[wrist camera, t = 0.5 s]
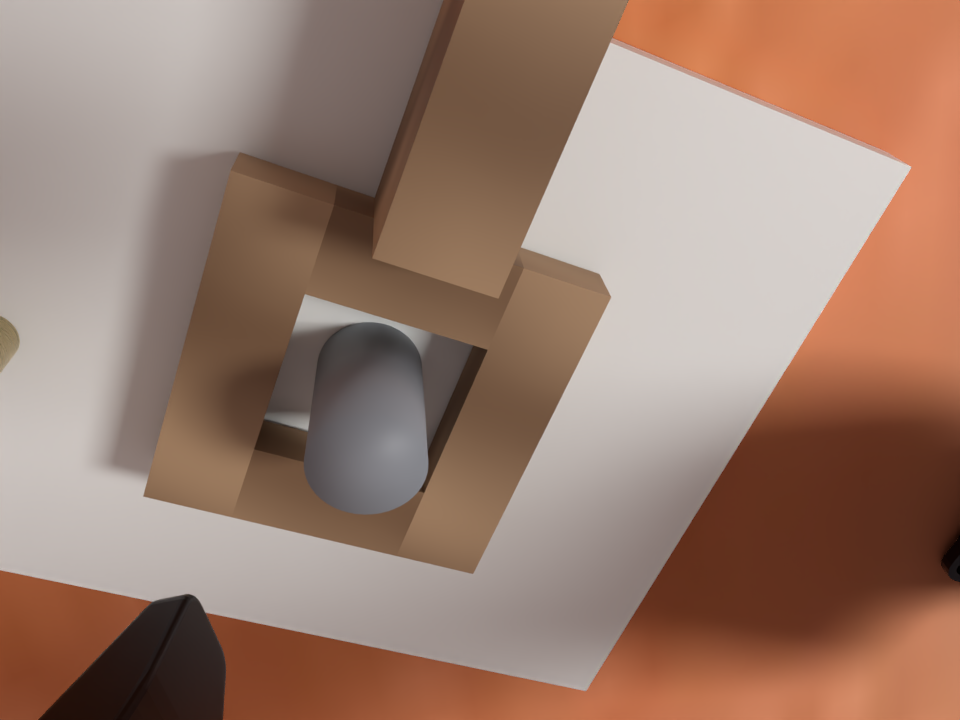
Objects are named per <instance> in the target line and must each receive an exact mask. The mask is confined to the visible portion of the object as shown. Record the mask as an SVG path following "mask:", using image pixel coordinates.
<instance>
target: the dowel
mask: <svg viewBox="0 0 960 720" xmlns="http://www.w3.org/2000/svg"><path fill="white" fill-rule="evenodd" d="M19 345H20V338H19V334H18V332H17V330H16V328H15V327H14V326H13V325H12V324H11V323H10V322H9V321H8V320H7V319H5V318H4V317H2V316H0V373H1V372H2V371H3V369H4V368H5V367H6V365H7V364H8V363H9V361H10V360H11V359H12V357H13V356H14V355H15V353H16V352H17V350H18V348H19Z"/></svg>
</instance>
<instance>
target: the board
mask: <svg viewBox="0 0 960 720" xmlns="http://www.w3.org/2000/svg"><path fill="white" fill-rule="evenodd" d="M442 3H443V0H0V316H2V317H4V318H5V319H7V320H8V321H9V322H10V323H11V324H12V325H13V326H14V327H15V328H16V330H17V332H18V334H19V338H20V345H19V348H18V350H17V352H16V353H15V355H14V356H13V357H12V359H11V360H10V361H9V363H8V364H7V365H6V367H5V368H4V369H3V371H2V372H1V373H0V570H2V571H7V572H12V573H17V574H22V575H26V576H31V577H36V578H41V579H46V580H51V581H55V582H60V583H65V584H70V585H75V586H80V587H85V588H89V589H94V590H99V591H104V592H109V593H114V594H118V595H123V596H128V597H133V598H138V599H143V600H147V601H152V602H154V601H156V600H159V599H163V598H168V597H173V596H179V595H184V594H191V595H194V596H195V597H196V598H197V599H198V600H199V601H200V603H201V604H202V607H203V609H204V611H205V612H206V613H210V614H215V615H220V616H225V617H230V618H235V619H239V620H244V621H249V622H254V623H259V624H264V625H269V626H273V627H278V628H283V629H288V630H293V631H298V632H302V633H307V634H312V635H317V636H322V637H327V638H331V639H336V640H341V641H346V642H351V643H356V644H361V645H365V646H370V647H375V648H380V649H385V650H390V651H394V652H399V653H404V654H409V655H414V656H419V657H423V658H428V659H433V660H438V661H443V662H448V663H453V664H457V665H462V666H467V667H472V668H477V669H482V670H486V671H491V672H496V673H501V674H506V675H511V676H516V677H520V678H525V679H530V680H535V681H540V682H545V683H549V684H554V685H559V686H564V687H569V688H574V689H578V690H583V691H586V690H587V689H588V687H589V685H590V684H591V682H592V681H593V679H594V677H595V676H596V674H597V673H598V671H599V669H600V668H601V666H602V665H603V663H604V661H605V660H606V658H607V656H608V655H609V653H610V652H611V650H612V648H613V647H614V645H615V644H616V642H617V640H618V639H619V637H620V636H621V634H622V632H623V631H624V629H625V627H626V626H627V624H628V623H629V621H630V619H631V618H632V616H633V615H634V613H635V611H636V610H637V608H638V607H639V605H640V603H641V602H642V600H643V599H644V597H645V595H646V594H647V592H648V590H649V589H650V587H651V586H652V584H653V582H654V581H655V579H656V578H657V576H658V574H659V573H660V571H661V570H662V568H663V566H664V565H665V563H666V562H667V560H668V558H669V557H670V555H671V553H672V552H673V550H674V549H675V547H676V545H677V544H678V542H679V541H680V539H681V537H682V536H683V534H684V533H685V531H686V529H687V528H688V526H689V524H690V523H691V521H692V520H693V518H694V516H695V515H696V513H697V512H698V510H699V508H700V507H701V505H702V504H703V502H704V500H705V499H706V497H707V496H708V494H709V492H710V491H711V489H712V487H713V486H714V484H715V483H716V481H717V479H718V478H719V476H720V475H721V473H722V471H723V470H724V468H725V467H726V465H727V463H728V462H729V460H730V459H731V457H732V455H733V454H734V452H735V450H736V449H737V447H738V446H739V444H740V442H741V441H742V439H743V438H744V436H745V434H746V433H747V431H748V430H749V428H750V426H751V425H752V423H753V421H754V420H755V418H756V417H757V415H758V413H759V412H760V410H761V409H762V407H763V405H764V404H765V402H766V401H767V399H768V397H769V396H770V394H771V393H772V391H773V389H774V388H775V386H776V384H777V383H778V381H779V380H780V378H781V376H782V375H783V373H784V372H785V370H786V368H787V367H788V365H789V364H790V362H791V360H792V359H793V357H794V356H795V354H796V352H797V351H798V349H799V347H800V346H801V344H802V343H803V341H804V339H805V338H806V336H807V335H808V333H809V331H810V330H811V328H812V327H813V325H814V323H815V322H816V320H817V318H818V317H819V315H820V314H821V312H822V310H823V309H824V307H825V306H826V304H827V302H828V301H829V299H830V298H831V296H832V294H833V293H834V291H835V290H836V288H837V286H838V285H839V283H840V281H841V280H842V278H843V277H844V275H845V273H846V272H847V270H848V269H849V267H850V265H851V264H852V262H853V261H854V259H855V257H856V256H857V254H858V253H859V251H860V249H861V248H862V246H863V244H864V243H865V241H866V240H867V238H868V236H869V235H870V233H871V232H872V230H873V228H874V227H875V225H876V224H877V222H878V220H879V219H880V217H881V215H882V214H883V212H884V211H885V209H886V207H887V206H888V204H889V203H890V201H891V199H892V198H893V196H894V195H895V193H896V191H897V190H898V188H899V187H900V185H901V183H902V182H903V180H904V178H905V177H906V175H907V174H908V172H909V170H910V169H911V166H909V165H907V164H906V163H904V162H902V161H901V160H899V159H897V158H896V157H894V156H892V155H891V154H889V153H887V152H886V151H884V150H881V149H879V148H876V147H874V146H871V145H869V144H867V143H864V142H862V141H859V140H857V139H855V138H852V137H850V136H847V135H845V134H843V133H840V132H838V131H835V130H833V129H830V128H828V127H826V126H823V125H821V124H818V123H816V122H814V121H811V120H809V119H806V118H804V117H802V116H799V115H797V114H794V113H792V112H790V111H787V110H785V109H782V108H780V107H777V106H775V105H773V104H770V103H768V102H765V101H763V100H761V99H758V98H756V97H753V96H751V95H749V94H746V93H744V92H741V91H739V90H736V89H734V88H732V87H729V86H727V85H724V84H722V83H720V82H717V81H715V80H712V79H710V78H708V77H705V76H703V75H700V74H698V73H696V72H693V71H691V70H688V69H686V68H683V67H681V66H679V65H676V64H674V63H671V62H669V61H667V60H664V59H662V58H659V57H657V56H655V55H652V54H650V53H647V52H645V51H643V50H640V49H638V48H635V47H633V46H630V45H628V44H626V43H623V42H621V41H618V40H616V39H614V38H612V40H611V42H610V44H609V47H608V49H607V51H606V53H605V56H604V58H603V60H602V63H601V65H600V67H599V69H598V72H597V74H596V76H595V79H594V81H593V83H592V85H591V88H590V90H589V92H588V95H587V97H586V99H585V101H584V104H583V106H582V108H581V111H580V113H579V115H578V118H577V120H576V122H575V124H574V127H573V129H572V131H571V134H570V136H569V138H568V140H567V143H566V145H565V147H564V150H563V152H562V154H561V156H560V159H559V161H558V163H557V166H556V168H555V170H554V172H553V175H552V177H551V179H550V182H549V184H548V186H547V189H546V191H545V193H544V195H543V198H542V200H541V202H540V205H539V207H538V209H537V211H536V214H535V216H534V218H533V221H532V223H531V225H530V227H529V230H528V232H527V234H526V237H525V239H524V241H523V244H522V246H521V248H524V249H527V250H530V251H533V252H536V253H539V254H542V255H545V256H548V257H551V258H554V259H557V260H560V261H563V262H566V263H569V264H572V265H574V266H577V267H580V268H583V269H586V270H589V271H592V272H595V273H598V274H600V276H601V278H602V280H603V282H604V284H605V286H606V288H607V290H608V292H609V294H610V296H611V299H610V301H609V303H608V305H607V307H606V309H605V311H604V313H603V315H602V317H601V319H600V321H599V323H598V325H597V327H596V329H595V331H594V333H593V335H592V337H591V339H590V341H589V343H588V345H587V347H586V349H585V351H584V353H583V355H582V357H581V359H580V361H579V363H578V365H577V367H576V369H575V371H574V373H573V375H572V377H571V379H570V381H569V383H568V385H567V387H566V389H565V391H564V393H563V395H562V397H561V399H560V401H559V403H558V405H557V407H556V409H555V411H554V413H553V415H552V417H551V419H550V421H549V423H548V425H547V427H546V429H545V431H544V433H543V435H542V437H541V439H540V441H539V443H538V445H537V447H536V449H535V451H534V453H533V455H532V457H531V459H530V461H529V463H528V465H527V467H526V469H525V471H524V473H523V475H522V477H521V479H520V481H519V483H518V485H517V487H516V489H515V491H514V493H513V495H512V497H511V499H510V501H509V503H508V505H507V507H506V509H505V511H504V513H503V515H502V517H501V519H500V521H499V523H498V525H497V527H496V529H495V531H494V533H493V535H492V537H491V539H490V541H489V543H488V545H487V547H486V549H485V551H484V553H483V555H482V557H481V559H480V561H479V563H478V565H477V567H476V569H475V571H474V573H473V574H471V573H466V572H462V571H458V570H454V569H449V568H445V567H441V566H437V565H432V564H428V563H424V562H419V561H415V560H411V559H407V558H402V557H398V556H394V555H390V554H385V553H381V552H377V551H373V550H368V549H364V548H360V547H356V546H351V545H347V544H343V543H339V542H334V541H330V540H326V539H322V538H317V537H313V536H309V535H305V534H300V533H296V532H292V531H288V530H283V529H279V528H275V527H270V526H266V525H262V524H258V523H253V522H249V521H245V520H241V519H236V518H232V517H228V516H224V515H219V514H215V513H211V512H207V511H202V510H198V509H194V508H190V507H185V506H181V505H177V504H173V503H168V502H164V501H160V500H156V499H151V498H147V497H143V495H144V491H145V487H146V484H147V480H148V476H149V473H150V469H151V465H152V461H153V458H154V454H155V450H156V446H157V443H158V439H159V435H160V432H161V428H162V424H163V420H164V417H165V413H166V409H167V405H168V402H169V398H170V394H171V390H172V387H173V383H174V379H175V376H176V372H177V368H178V364H179V361H180V357H181V353H182V349H183V346H184V342H185V338H186V335H187V331H188V327H189V323H190V320H191V316H192V312H193V308H194V305H195V301H196V297H197V293H198V290H199V286H200V282H201V279H202V275H203V271H204V267H205V264H206V260H207V256H208V252H209V249H210V245H211V241H212V238H213V234H214V230H215V226H216V223H217V219H218V215H219V211H220V208H221V204H222V200H223V196H224V193H225V189H226V185H227V182H228V178H229V174H230V170H231V168H232V166H233V164H234V162H235V160H236V158H237V156H238V154H239V152H241V153H244V154H247V155H250V156H253V157H256V158H259V159H262V160H265V161H268V162H271V163H273V164H276V165H279V166H282V167H285V168H288V169H291V170H294V171H297V172H300V173H303V174H306V175H309V176H312V177H315V178H318V179H321V180H324V181H327V182H330V183H332V184H335V185H338V186H341V187H344V188H347V189H350V190H353V191H356V192H359V193H362V194H365V195H368V196H371V197H374V198H375V195H376V192H377V189H378V186H379V184H380V181H381V178H382V175H383V172H384V169H385V166H386V163H387V161H388V158H389V155H390V152H391V149H392V146H393V143H394V140H395V138H396V135H397V132H398V129H399V126H400V123H401V120H402V117H403V115H404V112H405V109H406V106H407V103H408V100H409V97H410V94H411V92H412V89H413V86H414V83H415V80H416V77H417V74H418V72H419V69H420V66H421V63H422V60H423V57H424V54H425V51H426V49H427V46H428V43H429V40H430V37H431V34H432V31H433V28H434V26H435V23H436V20H437V17H438V14H439V11H440V8H441V5H442ZM472 348H473V345H470V344H467V343H464V342H460V341H457V340H454V339H451V338H447V337H444V336H441V335H437V334H434V333H431V332H428V331H424V330H421V329H418V328H414V327H411V326H408V325H405V324H401V323H398V322H395V321H391V320H388V319H385V318H382V317H378V316H375V315H372V314H368V313H365V312H362V311H359V310H355V309H352V308H349V307H345V306H342V305H339V304H336V303H332V302H329V301H326V300H322V299H319V298H316V297H313V296H309V295H306V294H305V295H304V298H303V301H302V304H301V307H300V310H299V313H298V316H297V319H296V323H295V326H294V329H293V332H292V335H291V338H290V341H289V344H288V347H287V350H286V353H285V356H284V359H283V362H282V365H281V368H280V371H279V374H278V377H277V381H276V384H275V387H274V390H273V393H272V396H271V399H270V402H269V405H268V408H267V411H266V414H265V417H264V421H267V422H271V423H275V424H279V425H282V426H286V427H290V428H294V429H298V430H301V431H305V432H308V434H307V441H306V449H305V456H304V472H305V476H306V479H307V481H308V484H309V485H310V487H311V489H312V490H313V491H314V493H315V494H316V495H317V496H318V497H319V498H320V499H321V500H323V501H324V502H326V503H327V504H329V505H330V506H332V507H334V508H336V509H339V510H341V511H345V512H348V513H353V514H363V515H367V514H379V513H383V512H387V511H390V510H393V509H395V508H398V507H400V506H402V505H403V504H405V503H406V502H408V501H409V500H410V499H411V498H413V497H414V496H415V495H416V494H417V493H418V491H419V490H420V488H421V487H422V485H423V483H424V482H425V479H426V476H427V472H428V449H429V447H430V444H431V442H432V440H433V438H434V435H435V433H436V431H437V428H438V426H439V424H440V421H441V419H442V417H443V415H444V412H445V410H446V408H447V405H448V403H449V401H450V398H451V396H452V394H453V391H454V389H455V387H456V385H457V382H458V380H459V378H460V375H461V373H462V371H463V368H464V366H465V364H466V362H467V359H468V357H469V355H470V352H471V350H472Z"/></svg>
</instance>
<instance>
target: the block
mask: <svg viewBox="0 0 960 720" xmlns="http://www.w3.org/2000/svg"><path fill="white" fill-rule="evenodd" d="M628 1H629V0H443V3H442V5H441V8H440V11H439V14H438V17H437V20H436V23H435V26H434V28H433V31H432V34H431V37H430V40H429V43H428V46H427V49H426V51H425V54H424V57H423V60H422V63H421V66H420V69H419V72H418V74H417V77H416V80H415V83H414V86H413V89H412V92H411V94H410V97H409V100H408V103H407V106H406V109H405V112H404V115H403V117H402V120H401V123H400V126H399V129H398V132H397V135H396V138H395V140H394V143H393V146H392V149H391V152H390V155H389V158H388V161H387V163H386V166H385V169H384V172H383V175H382V178H381V181H380V184H379V186H378V189H377V192H376V195H375V198H374V197H371V196H368V195H365V194H362V193H359V192H356V191H353V190H350V189H347V188H344V187H341V186H338V185H335V184H332V183H330V182H327V181H324V180H321V179H318V178H315V177H312V176H309V175H306V174H303V173H300V172H297V171H294V170H291V169H288V168H285V167H282V166H279V165H276V164H273V163H271V162H268V161H265V160H262V159H259V158H256V157H253V156H250V155H247V154H244V153H241V152H239V154H238V156H237V158H236V160H235V162H234V164H233V166H232V168H231V170H230V174H229V178H228V182H227V185H226V189H225V193H224V196H223V200H222V204H221V208H220V211H219V215H218V219H217V223H216V226H215V230H214V234H213V238H212V241H211V245H210V249H209V252H208V256H207V260H206V264H205V267H204V271H203V275H202V279H201V282H200V286H199V290H198V293H197V297H196V301H195V305H194V308H193V312H192V316H191V320H190V323H189V327H188V331H187V335H186V338H185V342H184V346H183V349H182V353H181V357H180V361H179V364H178V368H177V372H176V376H175V379H174V383H173V387H172V390H171V394H170V398H169V402H168V405H167V409H166V413H165V417H164V420H163V424H162V428H161V432H160V435H159V439H158V443H157V446H156V450H155V454H154V458H153V461H152V465H151V469H150V473H149V476H148V480H147V484H146V487H145V491H144V495H143V497H147V498H151V499H156V500H160V501H164V502H168V503H173V504H177V505H181V506H185V507H190V508H194V509H198V510H202V511H207V512H211V513H215V514H219V515H224V516H228V517H232V518H236V519H241V520H245V521H249V522H253V523H258V524H262V525H266V526H270V527H275V528H279V529H283V530H288V531H292V532H296V533H300V534H305V535H309V536H313V537H317V538H322V539H326V540H330V541H334V542H339V543H343V544H347V545H351V546H356V547H360V548H364V549H368V550H373V551H377V552H381V553H385V554H390V555H394V556H398V557H402V558H407V559H411V560H415V561H419V562H424V563H428V564H432V565H437V566H441V567H445V568H449V569H454V570H458V571H462V572H466V573H471V574H473V573H474V571H475V569H476V567H477V565H478V563H479V561H480V559H481V557H482V555H483V553H484V551H485V549H486V547H487V545H488V543H489V541H490V539H491V537H492V535H493V533H494V531H495V529H496V527H497V525H498V523H499V521H500V519H501V517H502V515H503V513H504V511H505V509H506V507H507V505H508V503H509V501H510V499H511V497H512V495H513V493H514V491H515V489H516V487H517V485H518V483H519V481H520V479H521V477H522V475H523V473H524V471H525V469H526V467H527V465H528V463H529V461H530V459H531V457H532V455H533V453H534V451H535V449H536V447H537V445H538V443H539V441H540V439H541V437H542V435H543V433H544V431H545V429H546V427H547V425H548V423H549V421H550V419H551V417H552V415H553V413H554V411H555V409H556V407H557V405H558V403H559V401H560V399H561V397H562V395H563V393H564V391H565V389H566V387H567V385H568V383H569V381H570V379H571V377H572V375H573V373H574V371H575V369H576V367H577V365H578V363H579V361H580V359H581V357H582V355H583V353H584V351H585V349H586V347H587V345H588V343H589V341H590V339H591V337H592V335H593V333H594V331H595V329H596V327H597V325H598V323H599V321H600V319H601V317H602V315H603V313H604V311H605V309H606V307H607V305H608V303H609V301H610V299H611V296H610V294H609V292H608V290H607V288H606V286H605V284H604V282H603V280H602V278H601V276H600V274H598V273H595V272H592V271H589V270H586V269H583V268H580V267H577V266H574V265H572V264H569V263H566V262H563V261H560V260H557V259H554V258H551V257H548V256H545V255H542V254H539V253H536V252H533V251H530V250H527V249H524V248H521V246H522V244H523V241H524V239H525V237H526V234H527V232H528V230H529V227H530V225H531V223H532V221H533V218H534V216H535V214H536V211H537V209H538V207H539V205H540V202H541V200H542V198H543V195H544V193H545V191H546V189H547V186H548V184H549V182H550V179H551V177H552V175H553V172H554V170H555V168H556V166H557V163H558V161H559V159H560V156H561V154H562V152H563V150H564V147H565V145H566V143H567V140H568V138H569V136H570V134H571V131H572V129H573V127H574V124H575V122H576V120H577V118H578V115H579V113H580V111H581V108H582V106H583V104H584V101H585V99H586V97H587V95H588V92H589V90H590V88H591V85H592V83H593V81H594V79H595V76H596V74H597V72H598V69H599V67H600V65H601V63H602V60H603V58H604V56H605V53H606V51H607V49H608V47H609V44H610V42H611V40H612V37H613V35H614V33H615V30H616V28H617V26H618V24H619V21H620V19H621V17H622V14H623V12H624V10H625V8H626V5H627V3H628ZM305 294H306V295H309V296H313V297H316V298H319V299H322V300H326V301H329V302H332V303H336V304H339V305H342V306H345V307H349V308H352V309H355V310H359V311H362V312H365V313H368V314H372V315H375V316H378V317H382V318H385V319H388V320H391V321H395V322H398V323H401V324H405V325H408V326H411V327H414V328H418V329H421V330H424V331H428V332H431V333H434V334H437V335H441V336H444V337H447V338H451V339H454V340H457V341H460V342H464V343H467V344H470V345H473V348H472V350H471V352H470V355H469V357H468V359H467V362H466V364H465V366H464V368H463V371H462V373H461V375H460V378H459V380H458V382H457V385H456V387H455V389H454V391H453V394H452V396H451V398H450V401H449V403H448V405H447V408H446V410H445V412H444V415H443V417H442V419H441V421H440V424H439V426H438V428H437V431H436V433H435V435H434V438H433V440H432V442H431V444H430V447H429V449H428V472H427V476H426V479H425V482H424V483H423V485H422V487H421V488H420V490H419V491H418V493H417V494H416V495H415V496H414V497H413V498H411V499H410V500H409V501H408V502H406V503H405V504H403V505H402V506H400V507H398V508H395V509H393V510H390V511H387V512H383V513H379V514H367V515H363V514H353V513H348V512H345V511H341V510H339V509H336V508H334V507H332V506H330V505H329V504H327V503H326V502H324V501H323V500H321V499H320V498H319V497H318V496H317V495H316V494H315V493H314V491H313V490H312V489H311V487H310V485H309V484H308V481H307V479H306V476H305V472H304V456H305V449H306V441H307V434H308V432H305V431H301V430H298V429H294V428H290V427H286V426H282V425H279V424H275V423H271V422H267V421H264V417H265V414H266V411H267V408H268V405H269V402H270V399H271V396H272V393H273V390H274V387H275V384H276V381H277V377H278V374H279V371H280V368H281V365H282V362H283V359H284V356H285V353H286V350H287V347H288V344H289V341H290V338H291V335H292V332H293V329H294V326H295V323H296V319H297V316H298V313H299V310H300V307H301V304H302V301H303V298H304V295H305Z"/></svg>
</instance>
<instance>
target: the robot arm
mask: <svg viewBox="0 0 960 720" xmlns="http://www.w3.org/2000/svg"><path fill="white" fill-rule="evenodd" d="M941 566H942V567H943V569H944V570H945V572H946V573H947V574H948V576H949V577H950V578H951V579H953V580H955V581H958V582H960V536H959V538H958V539H957V540H956V541H955V543H954V544H953V545H952V546H951V548H950V549H949V550H948V551H947V553H946V554H945V555H944V557H943V559H942V560H941ZM225 679H226V664H225V657H224V653H223V650H222V647H221V645H220V643H219V641H218V639H217V636H216V634H215V632H214V630H213V628H212V626H211V624H210V621H209V619H208V617H207V615H206V613H205V611H204V609H203V607H202V604H201V603H200V601H199V600H198V599H197V598H196V597H195V596H194V595H191V594H184V595H179V596H173V597H168V598H163V599H159V600H156V601H154V602H152V603H151V604H150V605H148V606H147V607H146V608H145V609H144V610H143V611H142V612H141V613H140V615H139V616H138V617H137V618H136V619H135V620H134V621H133V622H132V623H131V624H130V625H129V626H128V627H127V628H126V629H125V630H124V631H123V632H122V633H121V634H120V635H119V636H118V637H117V638H116V639H115V640H114V641H113V643H112V644H111V645H110V646H109V647H108V648H107V649H106V650H105V651H104V652H103V653H102V654H101V655H100V656H99V657H98V658H97V659H96V660H95V661H94V662H93V663H92V664H91V665H90V666H89V667H88V668H87V670H86V671H85V672H84V673H83V674H82V675H81V676H80V677H79V678H78V679H77V680H76V681H75V682H74V683H73V684H72V685H71V686H70V687H69V688H68V689H67V690H66V691H65V692H64V693H63V694H62V695H61V696H60V698H59V699H58V700H57V701H56V702H55V703H54V704H53V705H52V706H51V707H50V708H49V709H48V710H47V711H46V712H45V713H44V714H43V715H42V716H41V717H40V718H39V719H38V720H223V711H224V695H225Z"/></svg>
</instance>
